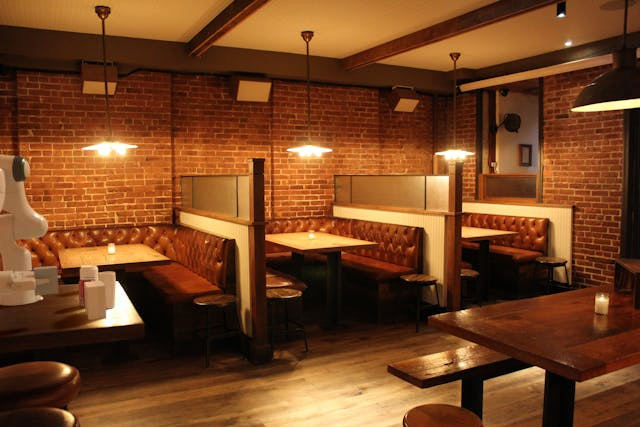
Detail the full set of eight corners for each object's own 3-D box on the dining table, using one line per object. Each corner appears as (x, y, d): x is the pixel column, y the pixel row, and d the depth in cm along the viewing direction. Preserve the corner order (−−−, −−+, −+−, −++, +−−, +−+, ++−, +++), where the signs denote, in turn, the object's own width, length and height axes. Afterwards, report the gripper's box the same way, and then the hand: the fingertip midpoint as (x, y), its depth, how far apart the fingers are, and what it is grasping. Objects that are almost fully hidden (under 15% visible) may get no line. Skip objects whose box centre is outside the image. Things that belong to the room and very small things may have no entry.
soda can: (100, 303, 241) (99, 276, 240) (91, 307, 234) (90, 280, 233) (84, 303, 241) (83, 276, 240) (76, 307, 234) (74, 279, 233)
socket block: (85, 313, 225) (84, 282, 223) (102, 311, 228) (101, 280, 227) (88, 320, 215) (87, 287, 214) (106, 317, 218) (105, 285, 217)
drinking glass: (107, 305, 238) (106, 270, 237) (120, 306, 236) (118, 271, 234) (96, 308, 232) (94, 273, 231) (108, 310, 230) (107, 274, 228)
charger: (34, 293, 212) (33, 267, 211) (60, 290, 217) (59, 265, 216) (35, 295, 208) (33, 269, 207) (61, 293, 213) (60, 267, 212)
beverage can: (102, 289, 270) (101, 264, 269) (91, 292, 262) (90, 267, 261) (87, 288, 271) (86, 264, 270) (77, 291, 264) (75, 267, 263)
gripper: (6, 279, 196) (49, 275, 203) (7, 269, 214) (47, 266, 221) (7, 296, 197) (50, 292, 203) (8, 285, 215) (47, 282, 221)
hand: (48, 278), depth 212 cm, fingers closed on charger, 4 cm apart
